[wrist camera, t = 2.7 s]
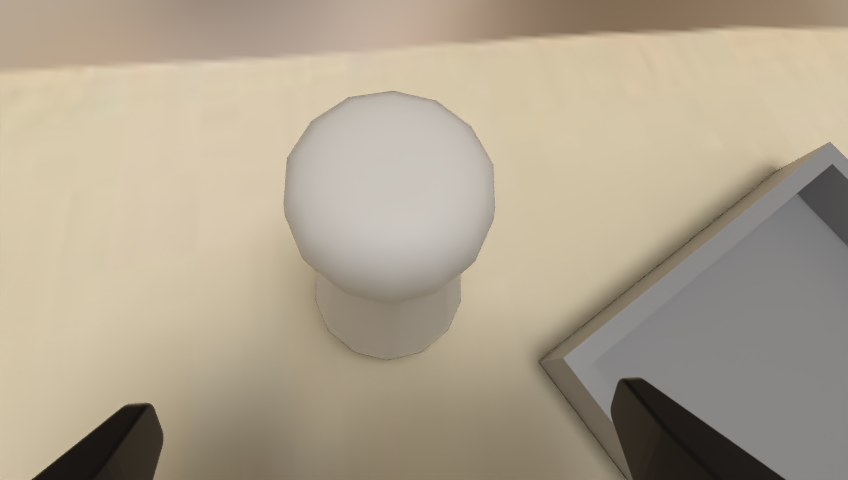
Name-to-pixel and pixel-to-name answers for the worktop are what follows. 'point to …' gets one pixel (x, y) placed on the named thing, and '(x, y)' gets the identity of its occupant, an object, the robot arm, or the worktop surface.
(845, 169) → the tray
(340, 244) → the salt shaker
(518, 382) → the worktop surface
